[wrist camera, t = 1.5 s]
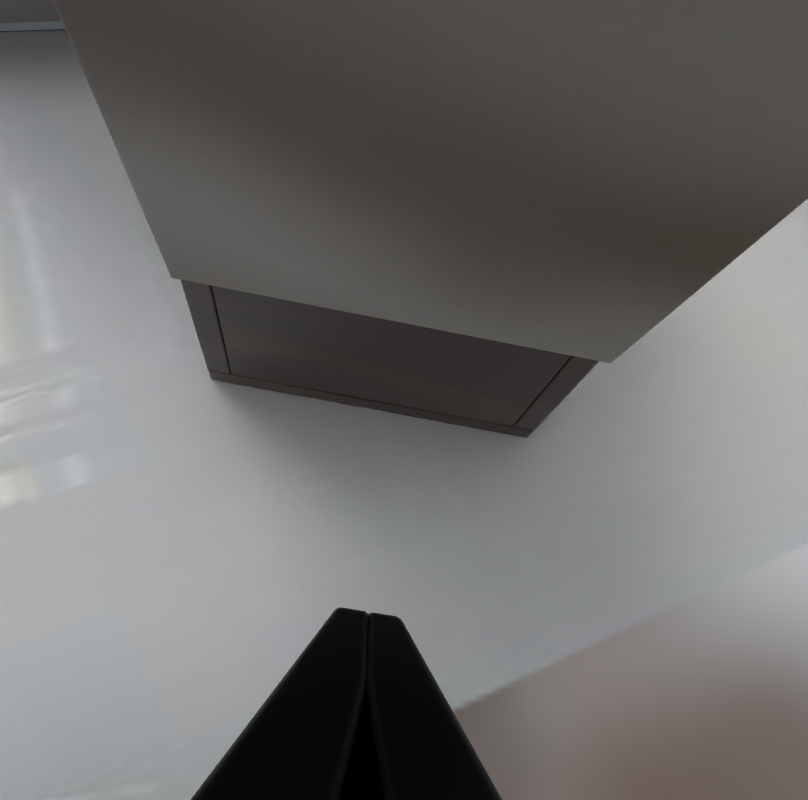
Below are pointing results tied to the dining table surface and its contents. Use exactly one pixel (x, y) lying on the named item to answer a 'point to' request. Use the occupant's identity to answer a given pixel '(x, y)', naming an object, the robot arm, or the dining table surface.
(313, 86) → the grey square plate
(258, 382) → the wooden box
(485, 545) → the dining table surface
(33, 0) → the alarm clock
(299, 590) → the dining table surface
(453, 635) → the dining table surface
